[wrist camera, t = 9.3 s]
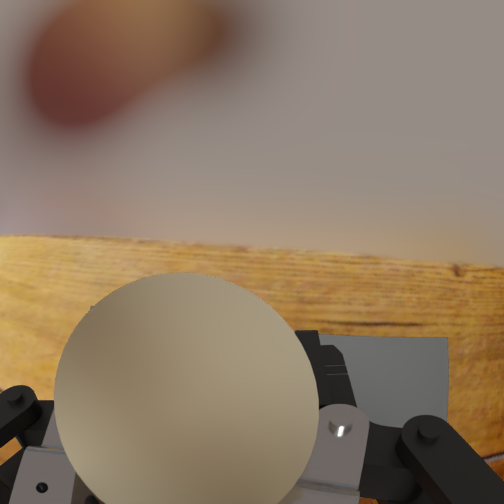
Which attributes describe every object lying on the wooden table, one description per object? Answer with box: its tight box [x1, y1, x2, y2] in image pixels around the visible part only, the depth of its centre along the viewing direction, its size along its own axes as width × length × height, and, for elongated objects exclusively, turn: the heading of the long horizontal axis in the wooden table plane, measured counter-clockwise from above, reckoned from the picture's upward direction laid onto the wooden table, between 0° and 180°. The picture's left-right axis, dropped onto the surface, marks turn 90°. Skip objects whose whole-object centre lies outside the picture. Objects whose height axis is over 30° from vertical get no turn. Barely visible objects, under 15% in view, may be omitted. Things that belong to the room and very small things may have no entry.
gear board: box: [90, 306, 449, 428], centre depth 22 cm, size 30×12×2 cm, turn 83°
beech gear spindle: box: [54, 273, 319, 504], centre depth 9 cm, size 8×8×10 cm
